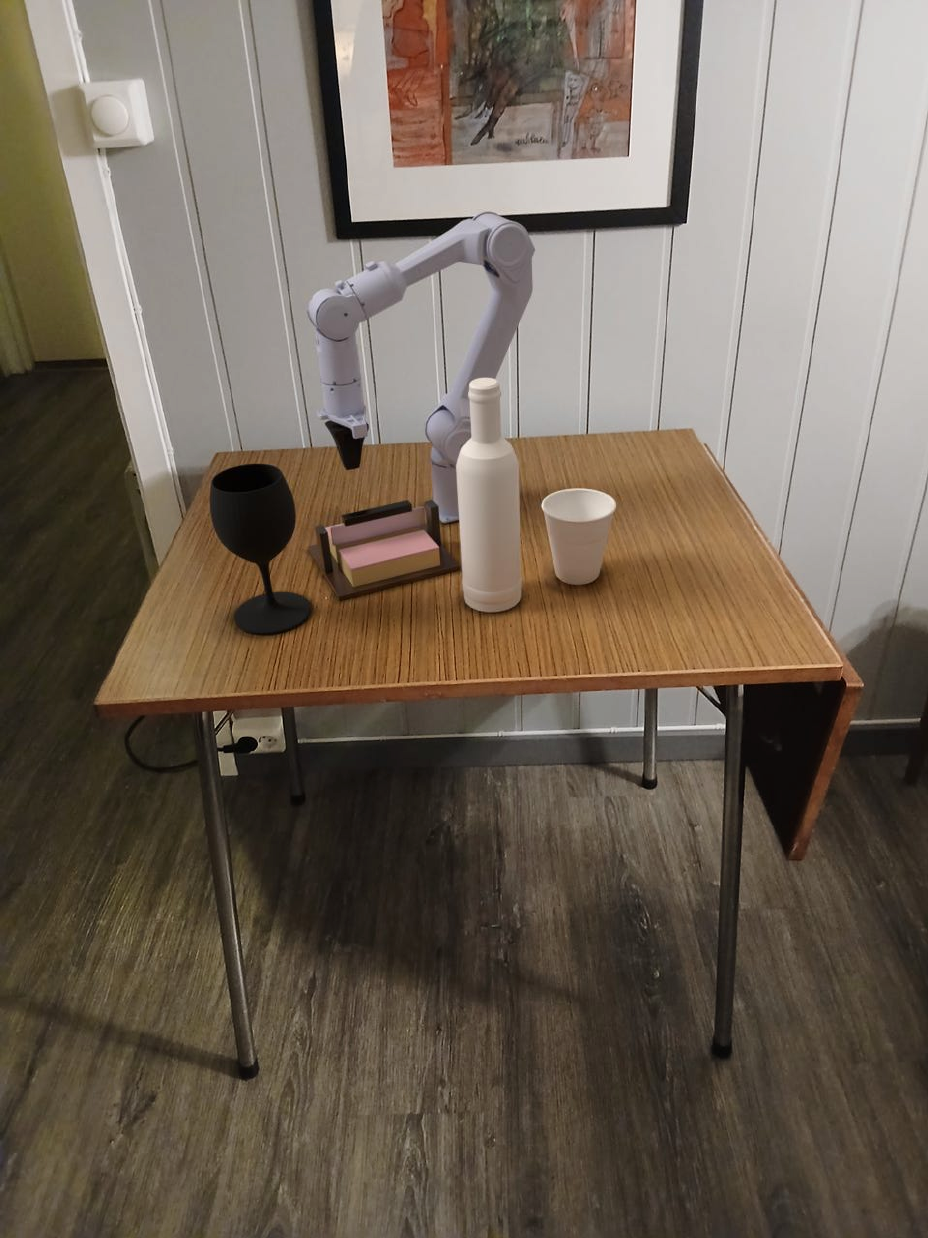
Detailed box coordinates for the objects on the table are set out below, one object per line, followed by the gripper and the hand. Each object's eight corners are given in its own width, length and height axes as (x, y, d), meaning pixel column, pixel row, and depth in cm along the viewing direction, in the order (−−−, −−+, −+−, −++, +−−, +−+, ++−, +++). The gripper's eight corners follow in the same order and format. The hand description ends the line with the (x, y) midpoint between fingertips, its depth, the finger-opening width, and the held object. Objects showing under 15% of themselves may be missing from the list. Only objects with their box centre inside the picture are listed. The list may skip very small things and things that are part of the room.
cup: (566, 601, 124) (567, 528, 118) (528, 569, 132) (527, 499, 126) (627, 580, 128) (631, 508, 122) (586, 550, 135) (588, 481, 129)
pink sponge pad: (407, 526, 143) (405, 508, 141) (440, 565, 132) (439, 547, 131) (326, 545, 139) (323, 527, 137) (353, 587, 128) (350, 568, 127)
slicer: (420, 524, 145) (416, 481, 141) (460, 569, 133) (457, 525, 129) (308, 550, 140) (301, 507, 136) (339, 601, 127) (332, 555, 123)
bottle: (527, 609, 123) (524, 389, 107) (469, 617, 122) (456, 396, 106) (514, 579, 130) (509, 368, 113) (459, 586, 129) (446, 374, 112)
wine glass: (276, 643, 119) (248, 502, 108) (217, 622, 124) (185, 486, 113) (327, 605, 126) (306, 469, 116) (270, 587, 131) (244, 455, 120)
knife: (422, 521, 137) (420, 496, 134) (426, 525, 135) (424, 500, 133) (331, 543, 132) (327, 517, 130) (334, 547, 131) (330, 522, 129)
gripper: (300, 369, 136) (313, 455, 143) (327, 399, 125) (340, 491, 132) (346, 361, 138) (356, 446, 146) (377, 389, 127) (387, 481, 134)
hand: (352, 467), depth 139 cm, fingers closed
